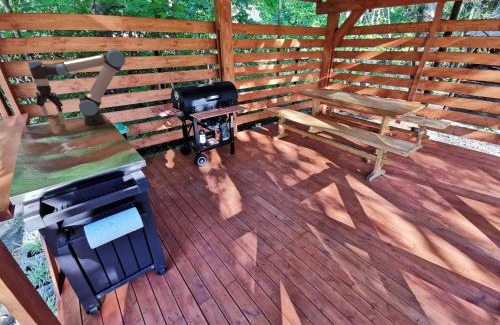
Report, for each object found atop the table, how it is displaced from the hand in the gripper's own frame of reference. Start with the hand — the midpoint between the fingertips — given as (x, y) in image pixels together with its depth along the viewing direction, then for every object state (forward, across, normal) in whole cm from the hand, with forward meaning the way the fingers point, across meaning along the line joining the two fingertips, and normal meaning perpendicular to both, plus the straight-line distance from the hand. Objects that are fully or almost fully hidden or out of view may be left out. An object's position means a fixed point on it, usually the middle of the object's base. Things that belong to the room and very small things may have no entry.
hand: (53, 115), depth 172 cm
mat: (+12, -13, -3) cm, 18 cm away
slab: (+12, 0, 0) cm, 13 cm away
